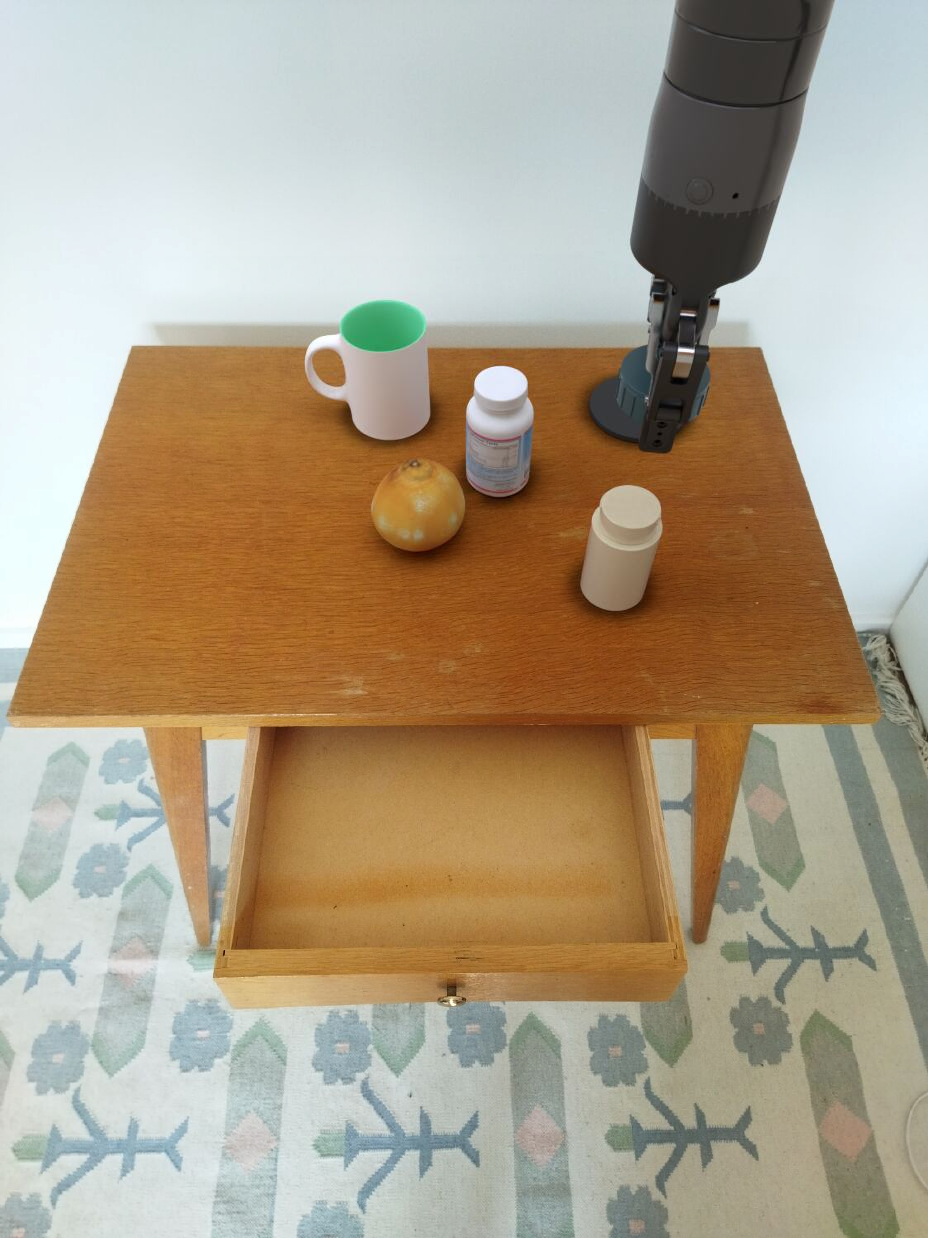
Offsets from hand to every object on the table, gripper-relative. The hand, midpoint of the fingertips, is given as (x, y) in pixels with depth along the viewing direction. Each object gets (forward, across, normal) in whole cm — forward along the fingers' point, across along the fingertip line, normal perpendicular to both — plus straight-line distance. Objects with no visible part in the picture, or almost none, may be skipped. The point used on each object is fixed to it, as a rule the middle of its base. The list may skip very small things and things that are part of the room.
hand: (655, 416), depth 57 cm
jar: (+18, -1, 0) cm, 18 cm away
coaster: (+18, +23, -1) cm, 29 cm away
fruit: (+18, +3, +18) cm, 26 cm away
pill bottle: (+18, +11, +12) cm, 24 cm away
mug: (+18, +18, +26) cm, 36 cm away
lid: (-4, 0, 0) cm, 4 cm away
